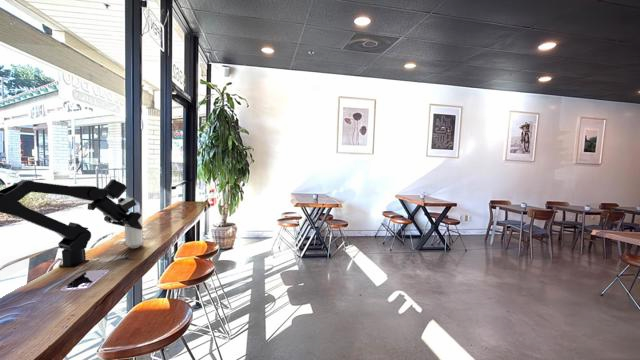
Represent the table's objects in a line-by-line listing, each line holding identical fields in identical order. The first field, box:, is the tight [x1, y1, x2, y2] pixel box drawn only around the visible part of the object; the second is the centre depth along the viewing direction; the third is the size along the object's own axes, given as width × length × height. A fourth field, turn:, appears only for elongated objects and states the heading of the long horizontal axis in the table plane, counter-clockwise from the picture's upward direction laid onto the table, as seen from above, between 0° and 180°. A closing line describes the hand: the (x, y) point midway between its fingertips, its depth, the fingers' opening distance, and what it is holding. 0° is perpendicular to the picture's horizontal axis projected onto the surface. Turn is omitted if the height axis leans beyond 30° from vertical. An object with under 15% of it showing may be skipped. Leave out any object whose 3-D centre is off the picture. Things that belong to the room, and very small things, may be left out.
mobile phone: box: [60, 269, 110, 292], centre depth 97 cm, size 8×1×15 cm
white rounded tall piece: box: [124, 216, 144, 246], centre depth 131 cm, size 7×7×12 cm
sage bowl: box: [128, 243, 142, 249], centre depth 131 cm, size 4×4×3 cm
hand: (136, 227), depth 132 cm, fingers closed on white rounded tall piece, 7 cm apart
